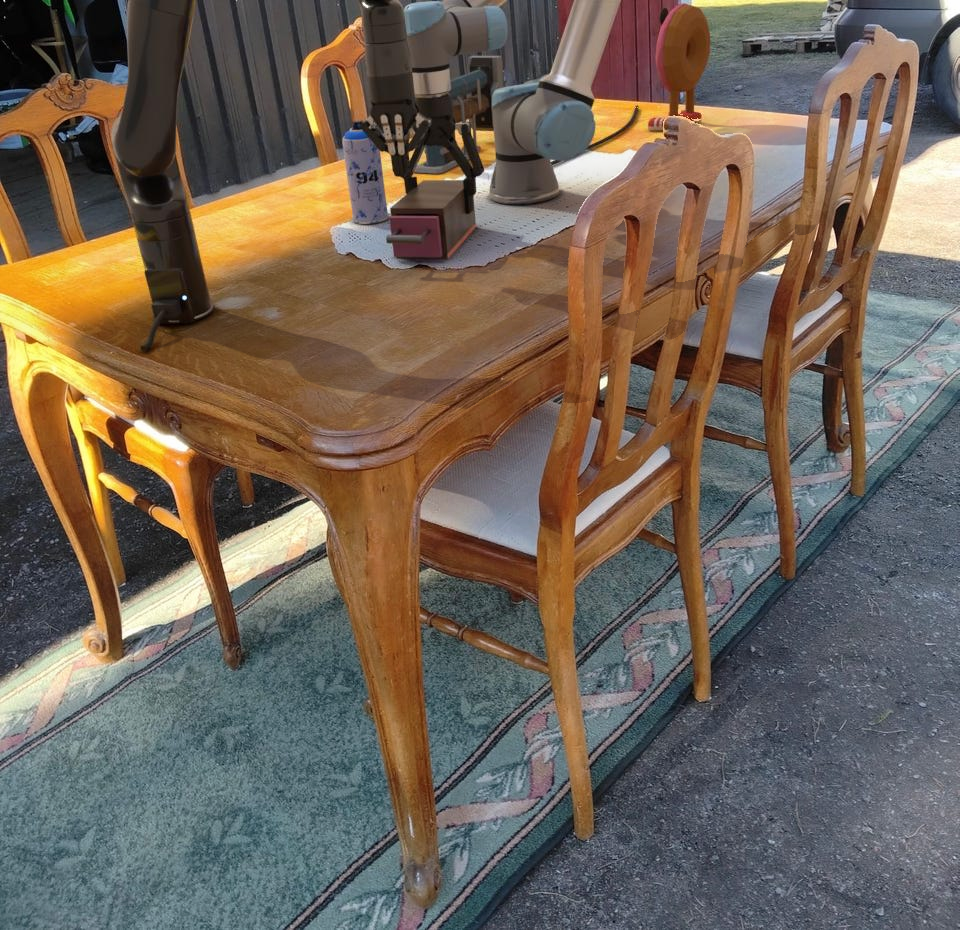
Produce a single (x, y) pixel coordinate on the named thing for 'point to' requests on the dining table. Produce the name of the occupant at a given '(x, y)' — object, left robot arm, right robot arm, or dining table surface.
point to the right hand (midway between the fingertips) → (442, 211)
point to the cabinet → (440, 211)
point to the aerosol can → (364, 177)
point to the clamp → (468, 108)
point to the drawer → (415, 235)
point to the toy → (681, 57)
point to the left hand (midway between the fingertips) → (402, 175)
